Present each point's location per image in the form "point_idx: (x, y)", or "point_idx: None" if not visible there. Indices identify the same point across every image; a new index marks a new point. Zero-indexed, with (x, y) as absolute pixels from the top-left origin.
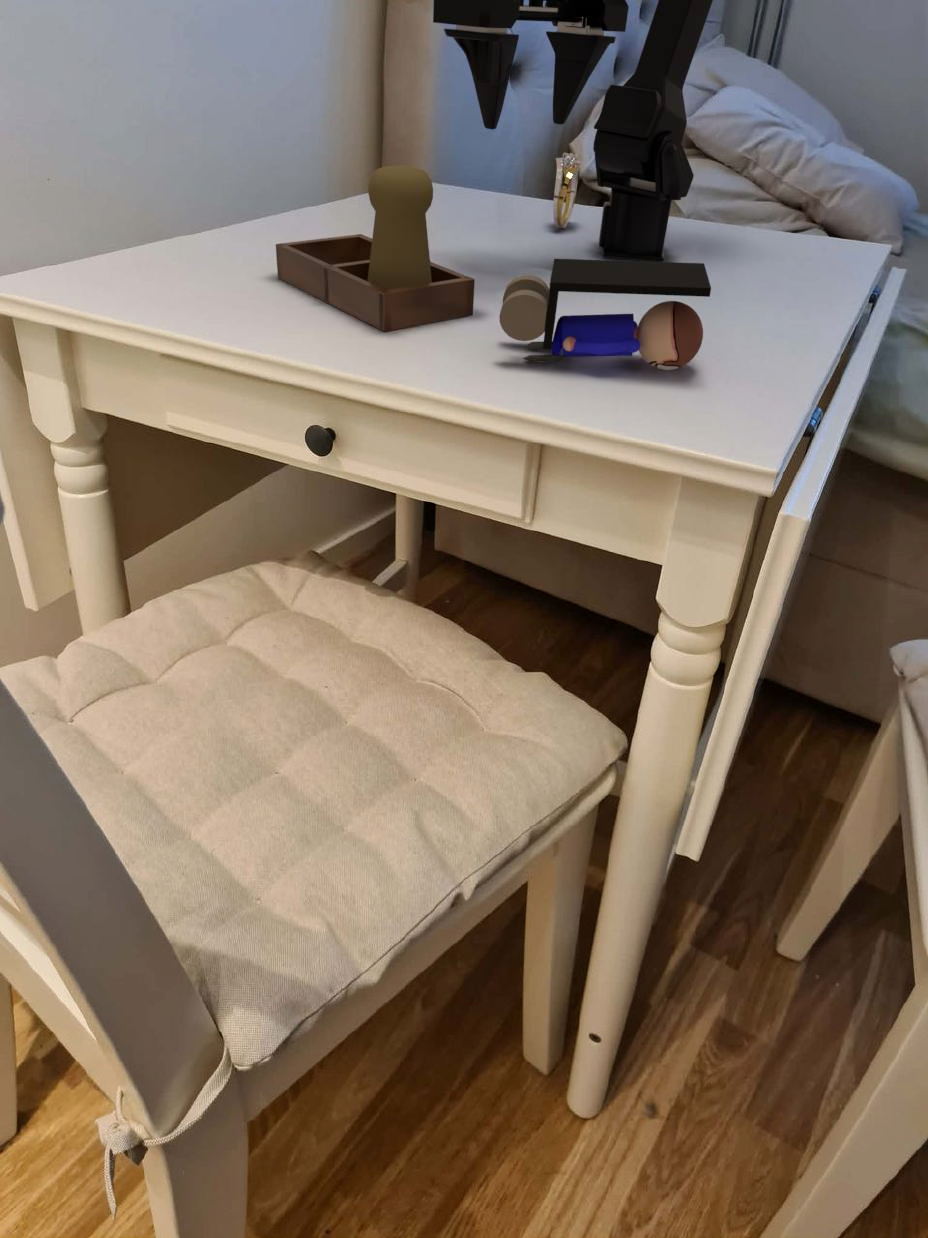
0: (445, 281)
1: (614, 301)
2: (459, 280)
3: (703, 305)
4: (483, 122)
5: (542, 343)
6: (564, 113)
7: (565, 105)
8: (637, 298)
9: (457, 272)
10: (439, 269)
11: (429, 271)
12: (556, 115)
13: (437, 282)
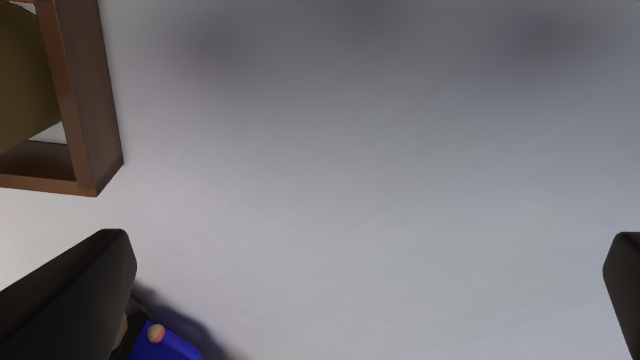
0: (34, 182)
1: (394, 239)
2: (63, 190)
3: (490, 314)
4: (89, 237)
5: (127, 304)
6: (620, 317)
7: (637, 349)
8: (442, 249)
9: (85, 153)
10: (62, 116)
11: (14, 145)
12: (626, 269)
13: (16, 179)
